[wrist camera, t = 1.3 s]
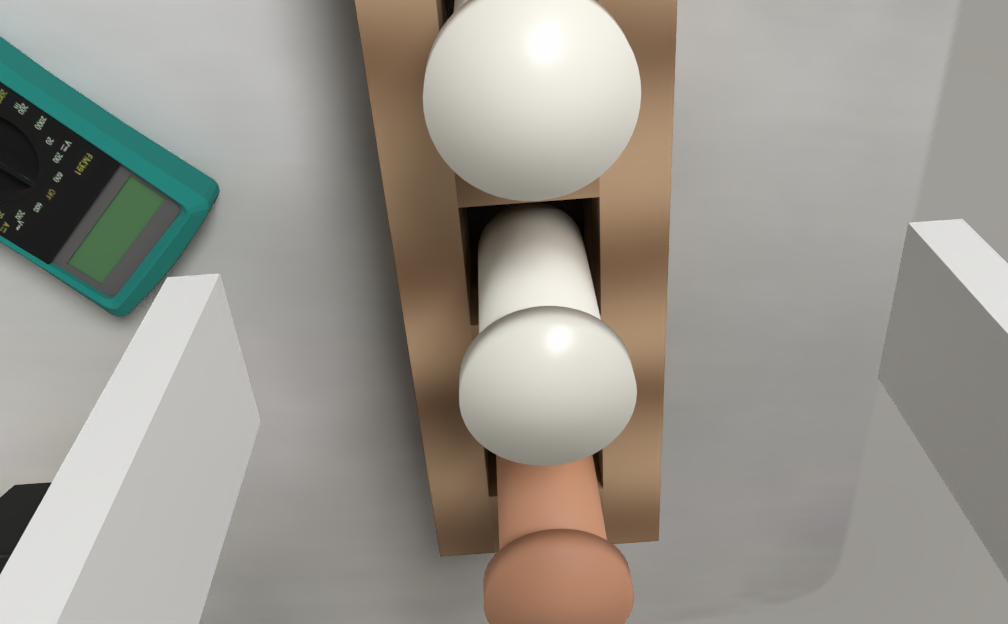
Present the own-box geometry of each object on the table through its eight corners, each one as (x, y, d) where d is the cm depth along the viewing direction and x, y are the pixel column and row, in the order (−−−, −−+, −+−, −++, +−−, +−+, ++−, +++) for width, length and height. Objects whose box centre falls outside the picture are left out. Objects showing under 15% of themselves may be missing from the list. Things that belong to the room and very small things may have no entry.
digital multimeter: (-125, -66, 32) (-175, -50, 30) (231, 183, 38) (214, 215, 35) (-198, 84, 35) (-249, 111, 33) (143, 295, 41) (121, 332, 38)
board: (349, -204, 30) (325, -192, 25) (648, -228, 30) (684, -221, 25) (443, 466, 46) (440, 556, 41) (637, 452, 46) (658, 540, 41)
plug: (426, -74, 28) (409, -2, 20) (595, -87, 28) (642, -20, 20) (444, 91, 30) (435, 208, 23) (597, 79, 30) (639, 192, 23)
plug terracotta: (476, 390, 37) (477, 556, 30) (601, 381, 37) (634, 545, 30) (486, 482, 40) (489, 656, 33) (602, 474, 40) (633, 646, 33)
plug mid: (455, 193, 32) (450, 332, 25) (599, 182, 32) (637, 318, 25) (468, 314, 35) (467, 471, 28) (600, 304, 35) (635, 459, 28)
